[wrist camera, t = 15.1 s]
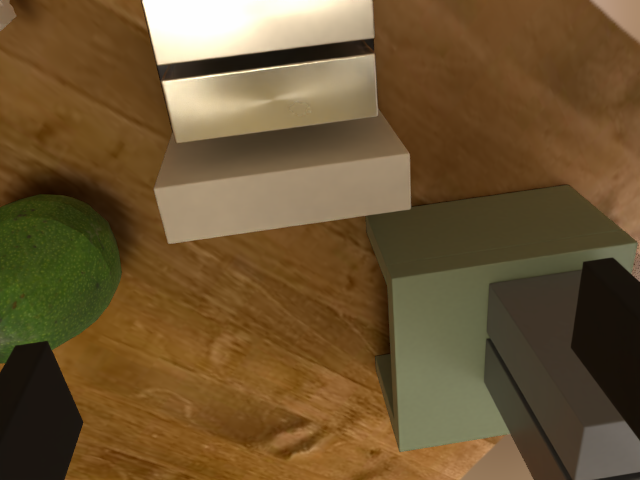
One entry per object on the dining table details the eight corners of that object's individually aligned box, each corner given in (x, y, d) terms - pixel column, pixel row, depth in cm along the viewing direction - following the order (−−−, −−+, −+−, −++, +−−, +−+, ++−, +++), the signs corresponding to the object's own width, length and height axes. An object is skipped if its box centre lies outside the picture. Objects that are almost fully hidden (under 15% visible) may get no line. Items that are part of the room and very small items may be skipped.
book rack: (364, -80, 30) (427, -76, 19) (379, 197, 38) (430, 304, 27) (131, -52, 29) (70, -34, 19) (196, 223, 37) (178, 342, 27)
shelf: (568, 184, 39) (794, 371, 23) (548, 343, 46) (710, 572, 30) (365, 213, 38) (451, 427, 22) (375, 370, 45) (447, 619, 29)
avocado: (87, 149, 34) (19, 251, 24) (155, 252, 38) (121, 379, 28) (-30, 199, 35) (-147, 321, 24) (48, 296, 39) (-24, 436, 28)
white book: (357, 77, 33) (410, 153, 22) (360, 120, 34) (411, 209, 24) (182, 100, 32) (152, 188, 22) (191, 142, 34) (168, 244, 23)
